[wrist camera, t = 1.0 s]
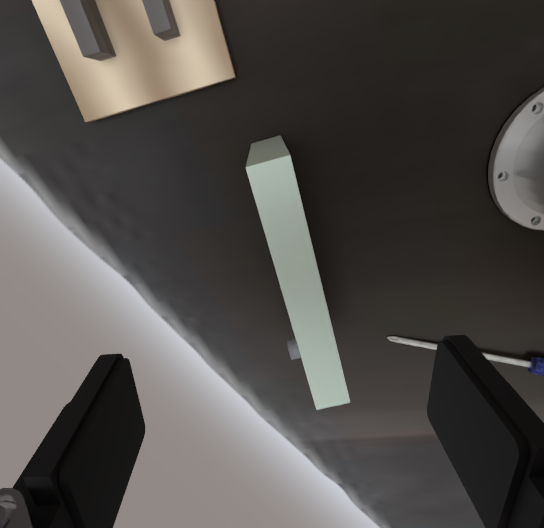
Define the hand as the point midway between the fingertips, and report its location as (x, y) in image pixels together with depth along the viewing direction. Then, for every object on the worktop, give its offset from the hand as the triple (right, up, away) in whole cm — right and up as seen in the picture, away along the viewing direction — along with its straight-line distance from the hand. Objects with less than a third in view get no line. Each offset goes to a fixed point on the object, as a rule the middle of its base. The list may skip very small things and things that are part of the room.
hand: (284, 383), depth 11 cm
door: (+1, +6, +23) cm, 24 cm away
